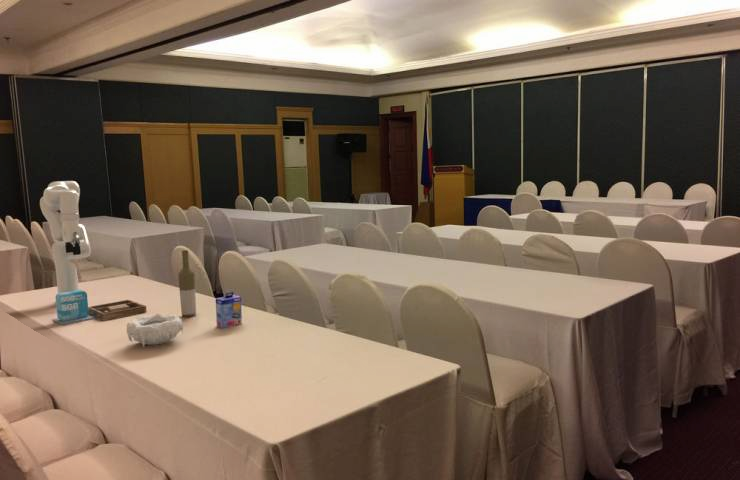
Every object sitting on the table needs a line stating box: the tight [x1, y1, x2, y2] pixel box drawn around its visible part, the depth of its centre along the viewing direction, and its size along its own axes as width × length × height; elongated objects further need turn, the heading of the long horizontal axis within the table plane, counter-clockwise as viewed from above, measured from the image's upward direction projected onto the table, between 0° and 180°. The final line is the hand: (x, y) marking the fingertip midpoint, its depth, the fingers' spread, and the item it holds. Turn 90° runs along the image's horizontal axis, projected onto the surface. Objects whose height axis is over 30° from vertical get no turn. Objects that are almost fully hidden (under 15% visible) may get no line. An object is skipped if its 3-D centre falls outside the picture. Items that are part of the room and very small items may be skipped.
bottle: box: [177, 249, 197, 318], centre depth 266 cm, size 7×7×30 cm
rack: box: [88, 299, 148, 321], centre depth 276 cm, size 19×20×3 cm
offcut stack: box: [104, 304, 129, 313], centre depth 273 cm, size 7×10×4 cm
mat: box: [51, 314, 96, 326], centre depth 265 cm, size 12×14×1 cm
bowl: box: [126, 313, 184, 348], centre depth 227 cm, size 21×20×10 cm
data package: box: [55, 289, 90, 321], centre depth 265 cm, size 12×4×12 cm, turn 135°
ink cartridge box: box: [215, 291, 243, 329], centre depth 250 cm, size 10×6×14 cm, turn 136°
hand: (73, 253), depth 275 cm, fingers open, 9 cm apart
